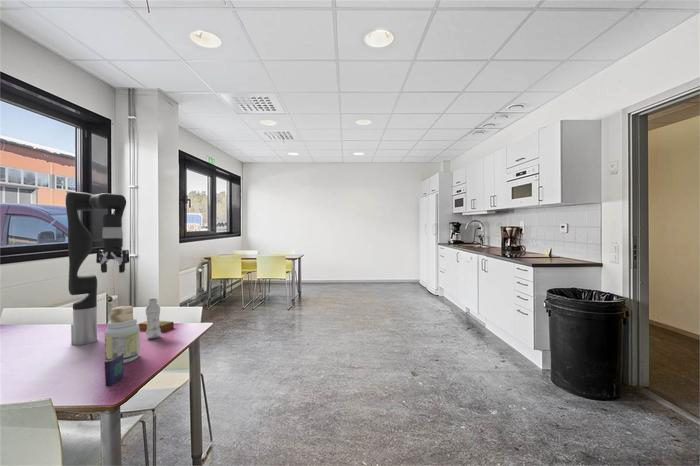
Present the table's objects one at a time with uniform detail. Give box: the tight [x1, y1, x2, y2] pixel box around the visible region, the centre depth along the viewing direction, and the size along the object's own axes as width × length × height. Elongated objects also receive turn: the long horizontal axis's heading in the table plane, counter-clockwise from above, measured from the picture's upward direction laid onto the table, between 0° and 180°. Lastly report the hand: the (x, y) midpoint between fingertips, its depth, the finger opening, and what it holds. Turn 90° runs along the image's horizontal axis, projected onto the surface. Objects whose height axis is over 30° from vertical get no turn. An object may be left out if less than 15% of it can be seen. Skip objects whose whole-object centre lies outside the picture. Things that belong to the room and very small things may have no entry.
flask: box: [104, 352, 125, 387], centre depth 118 cm, size 9×3×11 cm, turn 8°
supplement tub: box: [104, 316, 141, 364], centre depth 138 cm, size 12×12×17 cm
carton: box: [138, 320, 175, 333], centre depth 180 cm, size 8×16×4 cm, turn 75°
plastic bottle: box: [145, 298, 161, 340], centre depth 165 cm, size 6×7×20 cm
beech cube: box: [110, 305, 134, 322], centre depth 137 cm, size 6×6×6 cm
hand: (113, 272), depth 147 cm, fingers open, 8 cm apart
